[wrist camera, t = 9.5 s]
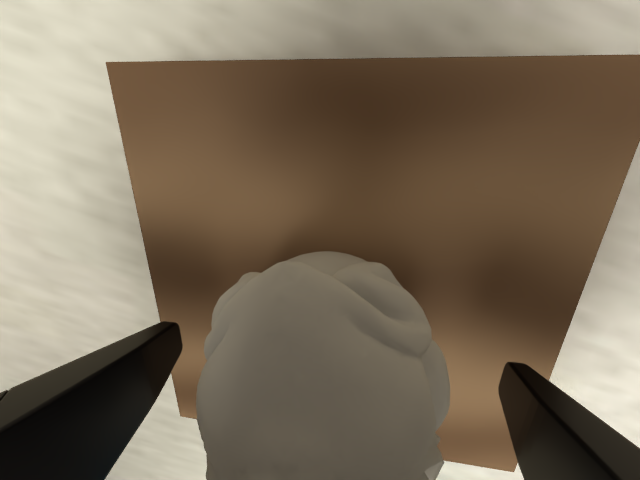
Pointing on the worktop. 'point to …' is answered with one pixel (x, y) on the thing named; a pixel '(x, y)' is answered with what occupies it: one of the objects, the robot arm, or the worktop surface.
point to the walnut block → (387, 196)
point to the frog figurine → (321, 376)
